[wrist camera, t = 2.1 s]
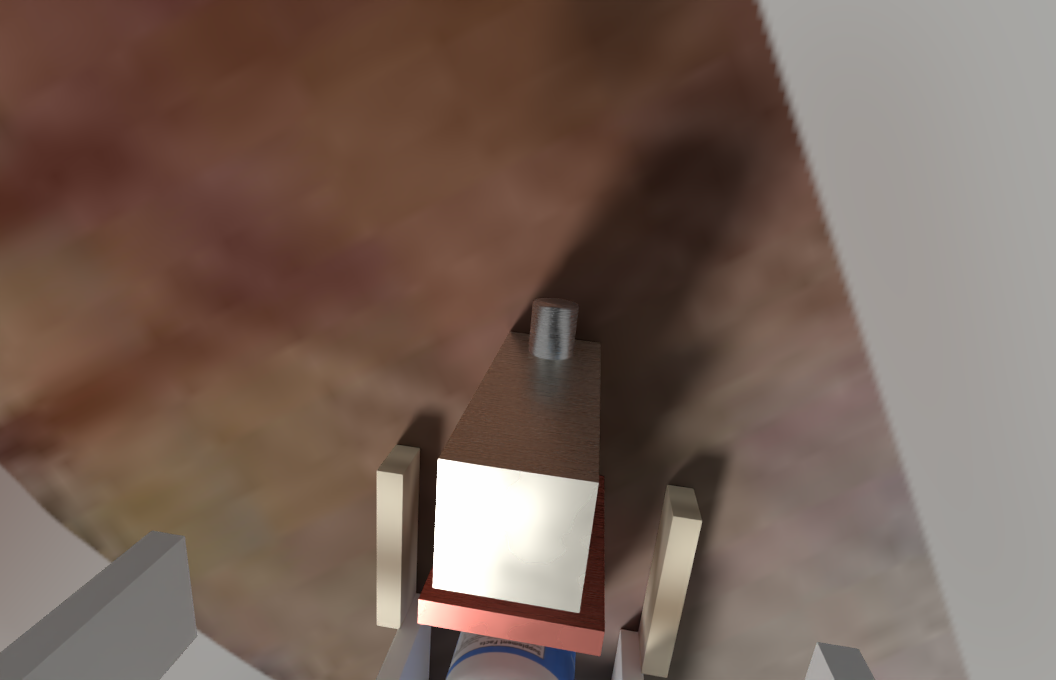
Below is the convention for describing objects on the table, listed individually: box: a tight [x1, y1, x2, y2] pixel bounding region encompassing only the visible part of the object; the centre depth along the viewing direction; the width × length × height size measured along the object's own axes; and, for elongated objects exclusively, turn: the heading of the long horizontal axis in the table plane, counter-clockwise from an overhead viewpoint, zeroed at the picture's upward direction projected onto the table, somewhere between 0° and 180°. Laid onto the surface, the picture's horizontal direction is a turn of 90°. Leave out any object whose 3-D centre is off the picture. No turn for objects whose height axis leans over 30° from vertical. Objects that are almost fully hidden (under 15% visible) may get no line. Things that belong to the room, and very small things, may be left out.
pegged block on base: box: [418, 298, 605, 656], centre depth 19 cm, size 10×6×11 cm, turn 175°
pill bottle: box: [446, 631, 576, 680], centre depth 24 cm, size 6×5×10 cm
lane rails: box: [377, 445, 702, 678], centre depth 26 cm, size 9×14×2 cm, turn 85°
